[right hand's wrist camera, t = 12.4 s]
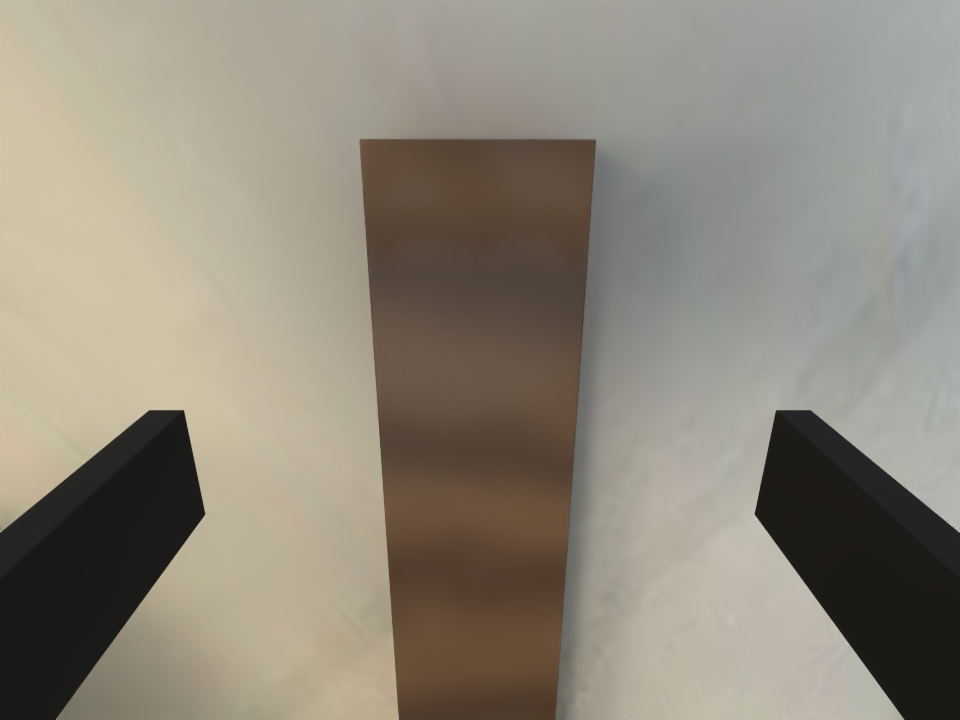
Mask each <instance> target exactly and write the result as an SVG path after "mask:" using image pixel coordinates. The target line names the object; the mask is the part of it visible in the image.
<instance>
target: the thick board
mask: <svg viewBox="0 0 960 720" xmlns="http://www.w3.org/2000/svg"><path fill="white" fill-rule="evenodd" d="M595 145H596V140H578V139H360V154H361V169H362V183H363V198H364V213H365V227H366V242H367V257H368V272H369V286H370V301H371V316H372V330H373V345H374V360H375V374H376V389H377V404H378V418H379V433H380V448H381V462H382V477H383V492H384V507H385V521H386V536H387V551H388V565H389V580H390V595H391V609H392V624H393V639H394V653H395V668H396V683H397V697H398V712H399V720H555V719H556V704H557V690H558V676H559V661H560V647H561V633H562V618H563V604H564V590H565V575H566V561H567V547H568V532H569V518H570V504H571V489H572V475H573V461H574V446H575V432H576V418H577V403H578V389H579V375H580V360H581V346H582V332H583V317H584V303H585V289H586V274H587V260H588V246H589V231H590V217H591V203H592V188H593V174H594V160H595Z"/></svg>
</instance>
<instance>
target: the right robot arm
mask: <svg viewBox="0 0 960 720" xmlns="http://www.w3.org/2000/svg"><path fill="white" fill-rule="evenodd" d="M204 515H205V510H204V506H203V501H202V496H201V491H200V486H199V481H198V476H197V472H196V467H195V462H194V457H193V452H192V447H191V442H190V438H189V433H188V428H187V423H186V418H185V413H184V410H149V411H148V412H147V413H145V414H144V415H143V416H142V417H141V418H139V419H138V420H137V421H136V422H135V423H133V424H132V425H131V426H130V427H128V428H127V429H126V430H125V431H124V432H122V433H121V434H120V435H119V436H118V437H116V438H115V439H114V440H113V441H111V442H110V443H109V444H108V445H107V446H105V447H104V448H103V449H102V450H101V451H99V452H98V453H97V454H96V455H94V456H93V457H92V458H91V459H90V460H88V461H87V462H86V463H85V464H84V465H82V466H81V467H80V468H79V469H77V470H76V471H75V472H74V473H73V474H71V475H70V476H69V477H68V478H67V479H65V480H64V481H63V482H62V483H60V484H59V485H58V486H57V487H56V488H54V489H53V490H52V491H51V492H49V493H48V494H47V495H46V496H45V497H43V498H42V499H41V500H40V501H39V502H37V503H36V504H35V505H34V506H32V507H31V508H30V509H29V510H28V511H26V512H25V513H24V514H23V515H22V516H20V517H19V518H18V519H17V520H15V521H14V522H13V523H12V524H11V525H9V526H8V527H7V528H6V529H5V530H3V531H2V532H1V533H0V720H55V719H56V718H57V717H58V715H59V714H60V713H61V711H62V710H63V709H64V707H65V706H66V704H67V703H68V702H69V700H70V699H71V698H72V696H73V695H74V693H75V692H76V691H77V689H78V688H79V687H80V685H81V684H82V683H83V681H84V680H85V678H86V677H87V676H88V674H89V673H90V672H91V670H92V669H93V667H94V666H95V665H96V663H97V662H98V661H99V659H100V658H101V656H102V655H103V654H104V652H105V651H106V650H107V648H108V647H109V646H110V644H111V643H112V641H113V640H114V639H115V637H116V636H117V635H118V633H119V632H120V630H121V629H122V628H123V626H124V625H125V624H126V622H127V621H128V620H129V618H130V617H131V615H132V614H133V613H134V611H135V610H136V609H137V607H138V606H139V604H140V603H141V602H142V600H143V599H144V598H145V596H146V595H147V594H148V592H149V591H150V589H151V588H152V587H153V585H154V584H155V583H156V581H157V580H158V578H159V577H160V576H161V574H162V573H163V572H164V570H165V569H166V567H167V566H168V565H169V563H170V562H171V561H172V559H173V558H174V557H175V555H176V554H177V552H178V551H179V550H180V548H181V547H182V546H183V544H184V543H185V541H186V540H187V539H188V537H189V536H190V535H191V533H192V532H193V531H194V529H195V528H196V526H197V525H198V524H199V522H200V521H201V520H202V518H203V517H204ZM755 515H756V517H757V518H758V520H759V521H760V522H761V524H762V525H763V526H764V528H765V529H766V531H767V532H768V533H769V535H770V536H771V537H772V539H773V540H774V541H775V543H776V544H777V546H778V547H779V548H780V550H781V551H782V552H783V554H784V555H785V557H786V558H787V559H788V561H789V562H790V563H791V565H792V566H793V567H794V569H795V570H796V572H797V573H798V574H799V576H800V577H801V578H802V580H803V581H804V583H805V584H806V585H807V587H808V588H809V589H810V591H811V592H812V594H813V595H814V596H815V598H816V599H817V600H818V602H819V603H820V604H821V606H822V607H823V609H824V610H825V611H826V613H827V614H828V615H829V617H830V618H831V620H832V621H833V622H834V624H835V625H836V626H837V628H838V629H839V630H840V632H841V633H842V635H843V636H844V637H845V639H846V640H847V641H848V643H849V644H850V646H851V647H852V648H853V650H854V651H855V652H856V654H857V655H858V656H859V658H860V659H861V661H862V662H863V663H864V665H865V666H866V667H867V669H868V670H869V672H870V673H871V674H872V676H873V677H874V678H875V680H876V681H877V683H878V684H879V685H880V687H881V688H882V689H883V691H884V692H885V693H886V695H887V696H888V698H889V699H890V700H891V702H892V703H893V704H894V706H895V707H896V709H897V710H898V711H899V713H900V714H901V715H902V717H903V718H904V719H905V720H960V533H959V532H958V531H957V530H955V529H954V528H953V527H952V526H951V525H949V524H948V523H947V522H946V521H945V520H943V519H942V518H941V517H940V516H938V515H937V514H936V513H935V512H934V511H932V510H931V509H930V508H929V507H928V506H926V505H925V504H924V503H923V502H921V501H920V500H919V499H918V498H917V497H915V496H914V495H913V494H912V493H910V492H909V491H908V490H907V489H906V488H904V487H903V486H902V485H901V484H900V483H898V482H897V481H896V480H895V479H893V478H892V477H891V476H890V475H889V474H887V473H886V472H885V471H884V470H883V469H881V468H880V467H879V466H878V465H876V464H875V463H874V462H873V461H872V460H870V459H869V458H868V457H867V456H866V455H864V454H863V453H862V452H861V451H859V450H858V449H857V448H856V447H855V446H853V445H852V444H851V443H850V442H849V441H847V440H846V439H845V438H844V437H842V436H841V435H840V434H839V433H838V432H836V431H835V430H834V429H833V428H832V427H830V426H829V425H828V424H827V423H825V422H824V421H823V420H822V419H821V418H819V417H818V416H817V415H816V414H814V413H813V412H812V411H811V410H776V413H775V418H774V423H773V428H772V433H771V438H770V442H769V447H768V452H767V457H766V462H765V467H764V472H763V476H762V481H761V486H760V491H759V496H758V501H757V506H756V510H755Z"/></svg>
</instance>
